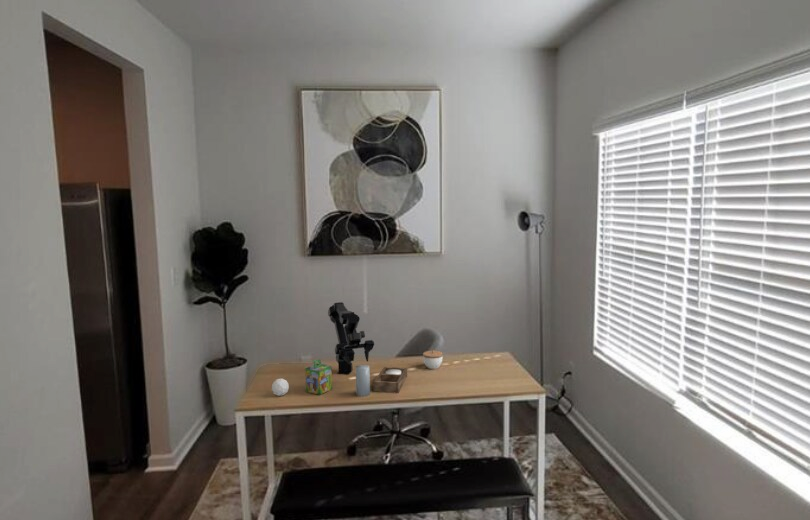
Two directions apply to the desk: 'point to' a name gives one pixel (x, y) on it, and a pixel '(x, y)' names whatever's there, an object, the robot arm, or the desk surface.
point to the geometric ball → (280, 387)
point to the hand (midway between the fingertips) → (358, 362)
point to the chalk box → (318, 378)
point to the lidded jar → (432, 359)
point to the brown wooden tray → (390, 380)
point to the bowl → (393, 371)
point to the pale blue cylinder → (362, 380)
